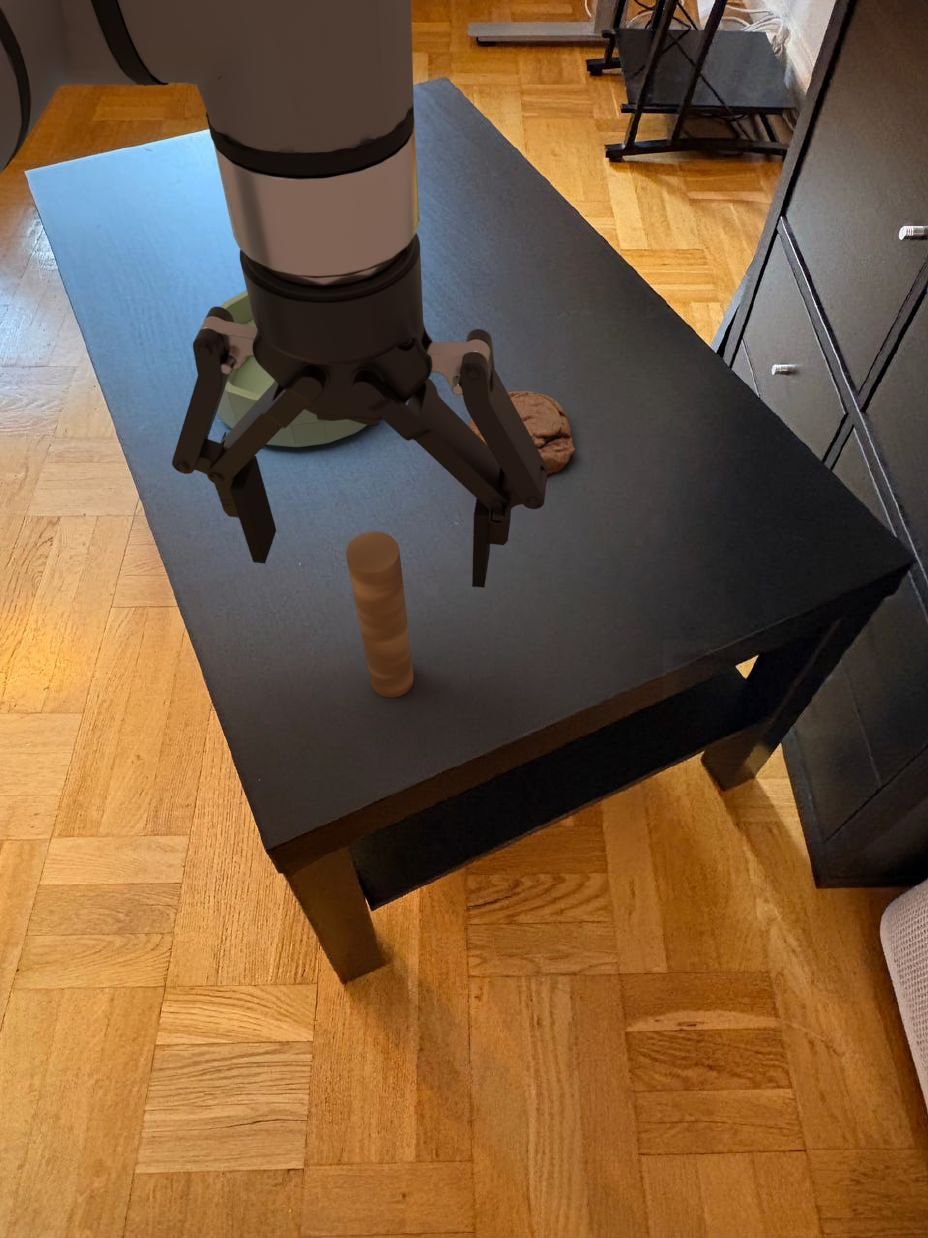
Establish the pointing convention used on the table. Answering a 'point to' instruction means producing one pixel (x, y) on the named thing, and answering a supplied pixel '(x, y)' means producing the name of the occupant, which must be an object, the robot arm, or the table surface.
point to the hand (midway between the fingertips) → (372, 558)
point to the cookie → (543, 427)
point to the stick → (381, 611)
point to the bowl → (253, 384)
